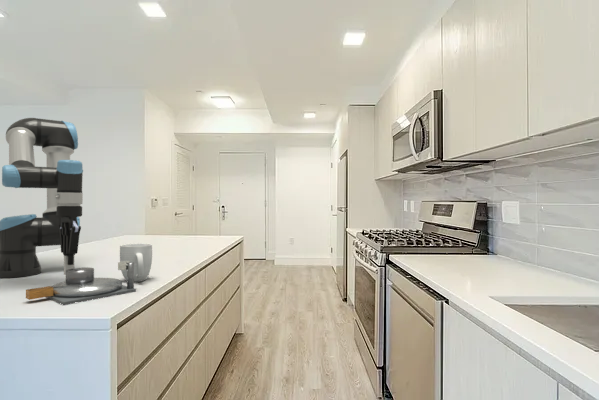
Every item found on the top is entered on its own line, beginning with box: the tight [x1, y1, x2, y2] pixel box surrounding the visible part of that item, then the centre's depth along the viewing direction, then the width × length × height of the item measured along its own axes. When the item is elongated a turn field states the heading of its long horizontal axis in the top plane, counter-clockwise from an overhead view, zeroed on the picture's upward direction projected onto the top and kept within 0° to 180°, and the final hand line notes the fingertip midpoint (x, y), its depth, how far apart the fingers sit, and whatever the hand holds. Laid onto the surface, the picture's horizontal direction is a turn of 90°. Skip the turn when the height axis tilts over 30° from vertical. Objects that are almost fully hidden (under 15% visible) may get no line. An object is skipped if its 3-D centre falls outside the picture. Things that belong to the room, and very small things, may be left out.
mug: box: [119, 242, 153, 283], centre depth 136 cm, size 15×11×13 cm
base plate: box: [45, 284, 137, 306], centre depth 119 cm, size 21×21×1 cm
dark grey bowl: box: [65, 266, 95, 284], centre depth 123 cm, size 8×8×4 cm
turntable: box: [25, 277, 123, 300], centre depth 117 cm, size 20×26×2 cm
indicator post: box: [117, 261, 135, 289], centre depth 122 cm, size 5×5×9 cm
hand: (68, 274), depth 128 cm, fingers closed
